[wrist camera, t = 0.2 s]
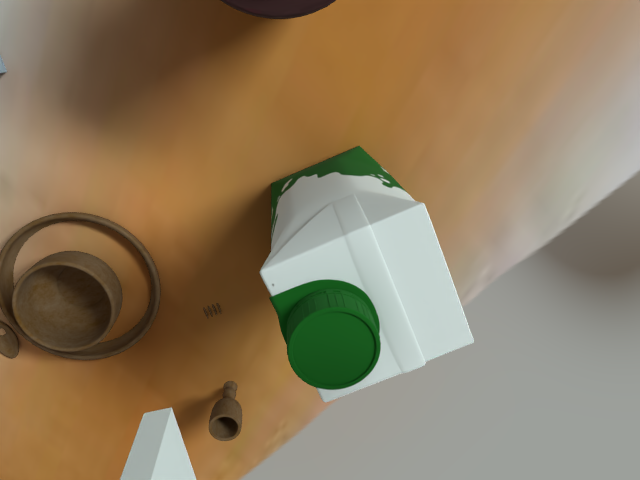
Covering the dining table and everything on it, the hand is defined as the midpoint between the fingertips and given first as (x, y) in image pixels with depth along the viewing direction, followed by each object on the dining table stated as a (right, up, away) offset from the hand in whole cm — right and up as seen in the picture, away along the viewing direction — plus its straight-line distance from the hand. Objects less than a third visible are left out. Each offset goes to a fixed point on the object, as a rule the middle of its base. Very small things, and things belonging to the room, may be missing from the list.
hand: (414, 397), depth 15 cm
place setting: (-19, -2, +29) cm, 35 cm away
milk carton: (-2, +7, +27) cm, 28 cm away
